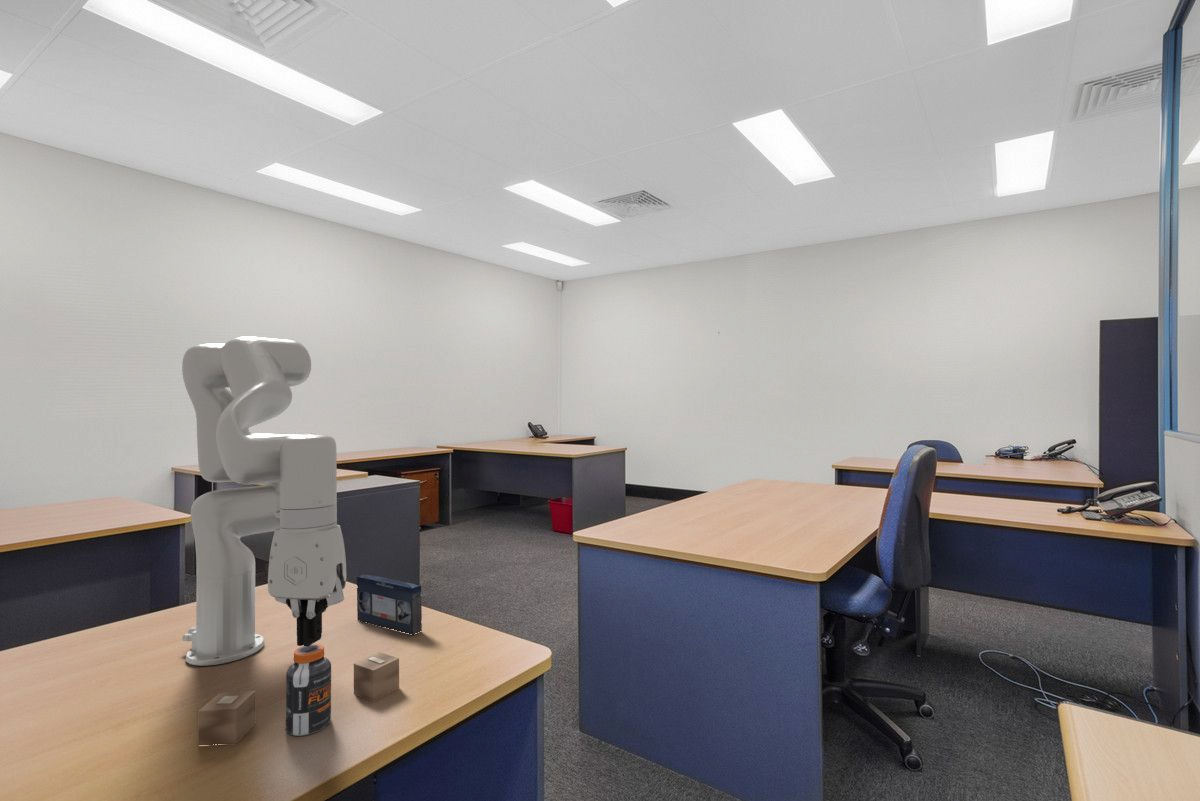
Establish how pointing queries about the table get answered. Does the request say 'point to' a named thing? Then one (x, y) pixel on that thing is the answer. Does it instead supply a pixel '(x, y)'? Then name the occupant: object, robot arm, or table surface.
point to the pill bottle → (308, 691)
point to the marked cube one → (226, 718)
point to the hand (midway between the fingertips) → (309, 642)
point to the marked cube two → (376, 676)
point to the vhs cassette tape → (389, 603)
